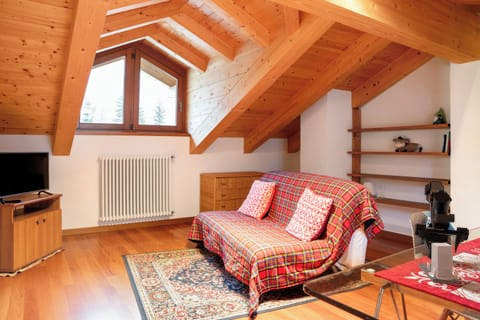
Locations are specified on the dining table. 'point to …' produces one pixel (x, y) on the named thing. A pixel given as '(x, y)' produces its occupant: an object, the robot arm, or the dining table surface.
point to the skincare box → (442, 259)
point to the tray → (433, 277)
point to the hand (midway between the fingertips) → (441, 250)
